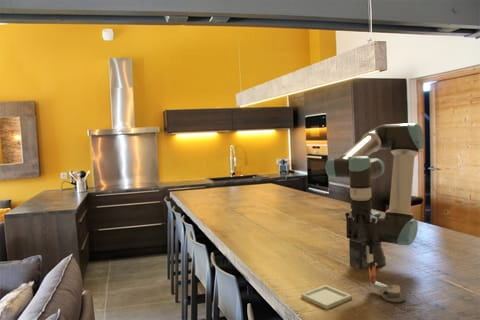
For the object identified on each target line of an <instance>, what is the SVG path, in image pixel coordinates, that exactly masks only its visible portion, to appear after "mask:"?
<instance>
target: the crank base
mask: <svg viewBox="0 0 480 320" xmlns="http://www.w3.org/2000/svg"><path fill="white" fill-rule="evenodd" d="M406 298H407V297H406V295H405V294H404V293H402V292H400V296H399V297H390V296H388V295H387V292H385V291H382V294H381V299H382V300H383V301H384V300H385V301H384V302H386V301H387V303H389V302H390V304H404V303H405V302H406V300H407V299H406Z"/></svg>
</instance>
